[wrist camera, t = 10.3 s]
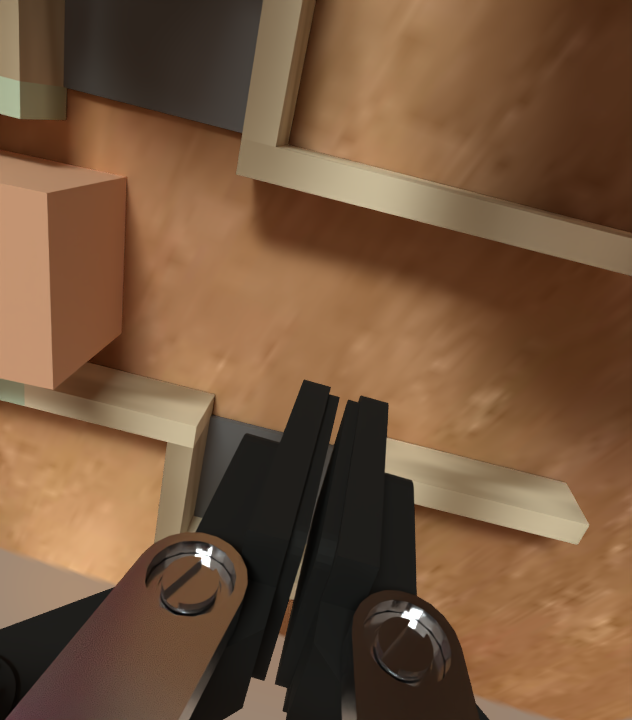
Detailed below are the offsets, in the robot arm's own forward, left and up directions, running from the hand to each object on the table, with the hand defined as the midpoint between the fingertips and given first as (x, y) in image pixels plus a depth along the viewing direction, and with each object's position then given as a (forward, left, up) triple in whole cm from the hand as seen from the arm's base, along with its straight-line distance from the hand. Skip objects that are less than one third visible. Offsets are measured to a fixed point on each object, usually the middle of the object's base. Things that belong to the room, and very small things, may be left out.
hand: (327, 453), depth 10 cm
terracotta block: (+11, +1, -10) cm, 15 cm away
